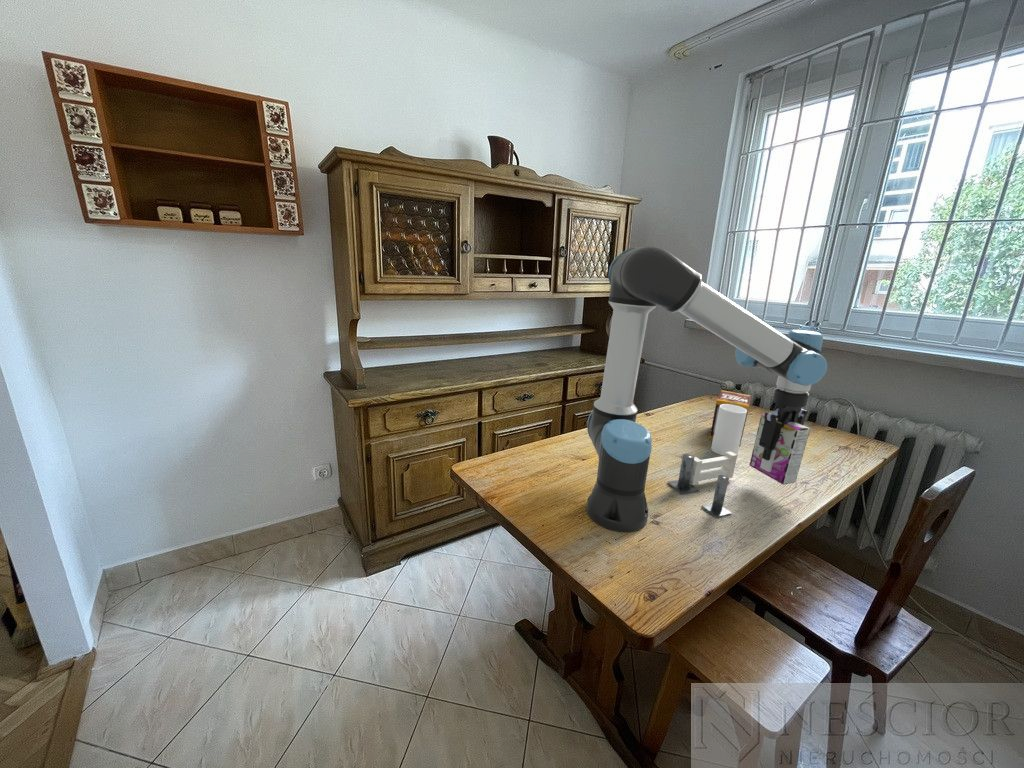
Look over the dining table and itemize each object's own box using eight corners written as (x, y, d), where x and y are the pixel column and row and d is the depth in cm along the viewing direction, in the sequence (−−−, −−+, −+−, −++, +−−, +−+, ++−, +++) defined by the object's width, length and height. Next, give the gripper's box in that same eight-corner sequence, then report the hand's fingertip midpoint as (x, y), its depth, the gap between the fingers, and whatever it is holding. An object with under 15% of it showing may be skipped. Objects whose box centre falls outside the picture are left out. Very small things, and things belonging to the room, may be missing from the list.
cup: (740, 457, 135) (750, 413, 130) (714, 454, 136) (723, 411, 132) (732, 447, 143) (742, 405, 138) (708, 444, 144) (716, 403, 139)
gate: (691, 485, 114) (696, 461, 112) (685, 481, 117) (690, 458, 114) (732, 477, 120) (737, 454, 118) (725, 473, 122) (730, 451, 120)
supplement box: (743, 432, 156) (751, 395, 152) (740, 446, 144) (749, 406, 139) (713, 426, 161) (721, 389, 157) (708, 439, 149) (716, 399, 144)
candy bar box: (747, 465, 117) (760, 413, 113) (761, 464, 119) (773, 412, 114) (782, 485, 107) (797, 429, 102) (796, 483, 109) (812, 427, 104)
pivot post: (682, 494, 111) (688, 462, 109) (667, 483, 117) (672, 452, 114) (698, 491, 113) (705, 459, 111) (683, 480, 119) (689, 450, 116)
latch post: (716, 518, 101) (724, 483, 98) (701, 507, 106) (708, 473, 103) (731, 515, 103) (739, 480, 100) (715, 504, 108) (722, 471, 105)
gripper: (781, 396, 99) (761, 479, 106) (830, 391, 105) (808, 469, 112) (754, 387, 106) (737, 466, 113) (801, 383, 112) (782, 457, 119)
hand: (772, 467), depth 112 cm, fingers closed on candy bar box, 5 cm apart
